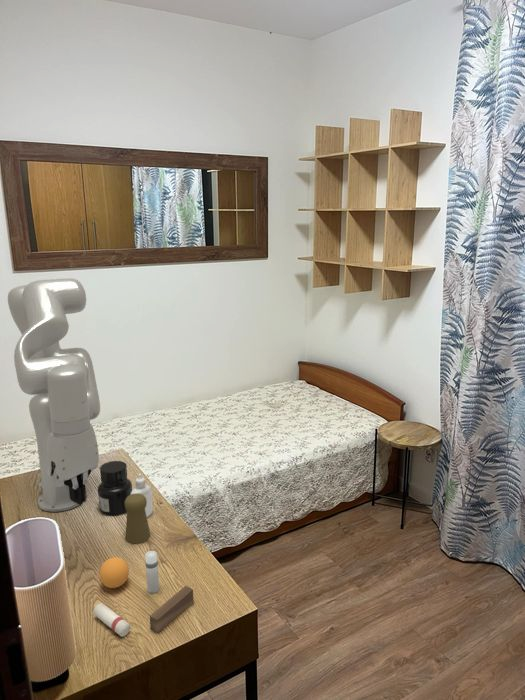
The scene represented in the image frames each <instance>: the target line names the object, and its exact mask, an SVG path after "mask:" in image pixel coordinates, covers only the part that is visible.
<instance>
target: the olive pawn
mask: <svg viewBox="0 0 525 700" xmlns="http://www.w3.org/2000/svg"><path fill="white" fill-rule="evenodd" d="M124 504H125V509H126V510H127V512H126V523H125V525H126V526H125V537H124V539H125V542H127V544H130V545H141V544H143V543H146V542H147V541H149V540H150V538H151V532H150V527H149V522H148V521H149V520H148V517H147V516H146V512H145V507H146V504H147V501H146V498H145V496H144V495H142V494H138V493H136V494H131V495H129V496H128V497H127V498H126V500H125V503H124Z"/></svg>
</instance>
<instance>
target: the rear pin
mask: <svg viewBox="0 0 525 700" xmlns="http://www.w3.org/2000/svg"><path fill="white" fill-rule="evenodd" d="M144 556H145V558H144V559H145V562H144V563H145V571H146V572H145V573H146V591H147V592H148V593H149V594H155V593H158V592H159V590H160V583H159V582H160V581H159V580H160V579H159V562H158V552H157V551H156V550H148V551H147V552H145V555H144Z"/></svg>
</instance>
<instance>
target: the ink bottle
mask: <svg viewBox="0 0 525 700" xmlns="http://www.w3.org/2000/svg"><path fill="white" fill-rule="evenodd" d="M99 471H100V481H101V482H100V483H99V484H98V486H97V498H98V507H99V509H98V510H99V511H100V512H101V513H102V514H103V515H106V516H117V515H121V514H125V513H127V510H126V509H125V504H124V503H125V500H126V498H127V497H128V496H129V495H130V494H131V492H132V490H133V483H132V480H130V479H129V478H128V468H127V463H126V462H125V461H121V460H113V461H112V460H111V461H108V462H104V463H103V464H102V465H101V466H100V467H99Z"/></svg>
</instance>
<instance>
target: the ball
mask: <svg viewBox="0 0 525 700" xmlns="http://www.w3.org/2000/svg"><path fill="white" fill-rule="evenodd" d="M129 573H130V568H129V565H128V563H127V561H125V560H124V559H123V558H121V557H119V556H118V557H116V556H114V557H110V558H108V559H107V560H105V561H104V562H103V563H102V565H101V566H100V570H99V579H100V582H101V584H102V585H103V586H105V587H107V588H109V589H116V588H119V587H121V586H122V585H124V584H125V582H126V581H127V579H128V577H129Z"/></svg>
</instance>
